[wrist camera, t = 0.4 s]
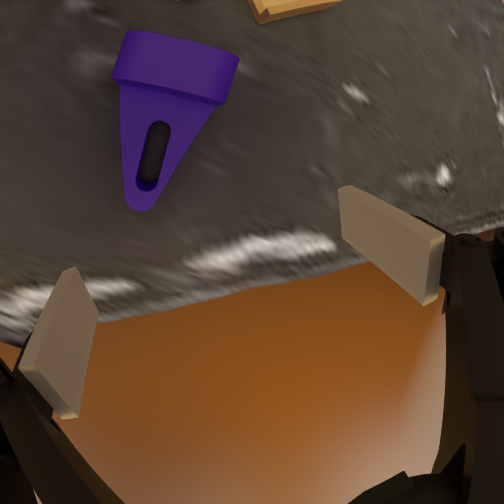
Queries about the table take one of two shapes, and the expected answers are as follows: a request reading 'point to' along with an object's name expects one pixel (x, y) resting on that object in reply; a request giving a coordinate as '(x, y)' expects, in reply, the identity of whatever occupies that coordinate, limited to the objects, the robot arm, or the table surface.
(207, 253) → the table surface
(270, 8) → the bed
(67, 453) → the robot arm
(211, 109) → the bracket
